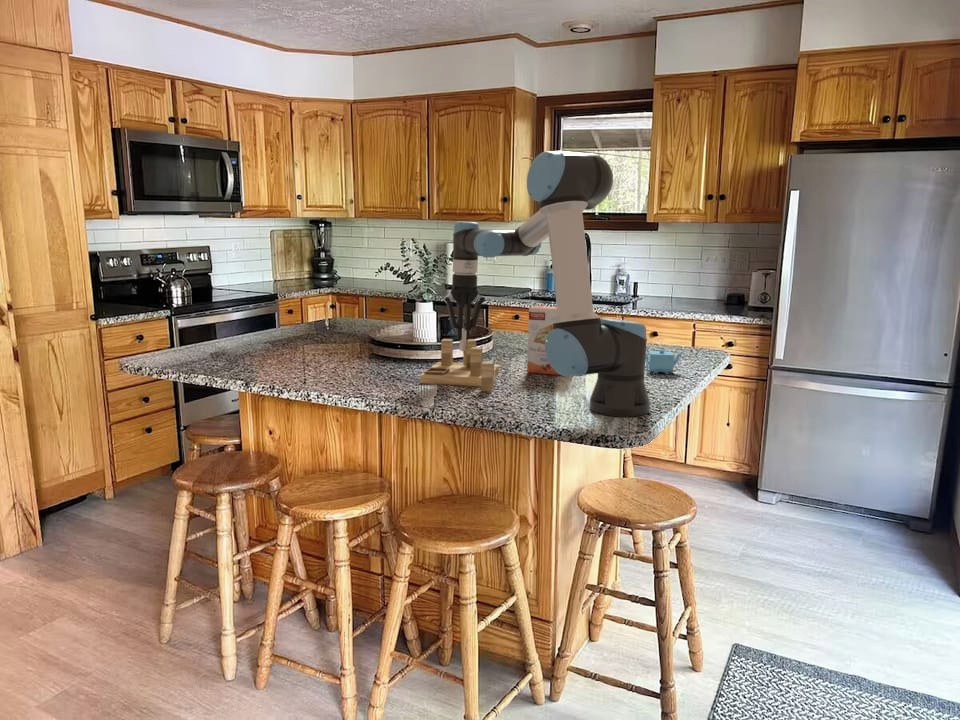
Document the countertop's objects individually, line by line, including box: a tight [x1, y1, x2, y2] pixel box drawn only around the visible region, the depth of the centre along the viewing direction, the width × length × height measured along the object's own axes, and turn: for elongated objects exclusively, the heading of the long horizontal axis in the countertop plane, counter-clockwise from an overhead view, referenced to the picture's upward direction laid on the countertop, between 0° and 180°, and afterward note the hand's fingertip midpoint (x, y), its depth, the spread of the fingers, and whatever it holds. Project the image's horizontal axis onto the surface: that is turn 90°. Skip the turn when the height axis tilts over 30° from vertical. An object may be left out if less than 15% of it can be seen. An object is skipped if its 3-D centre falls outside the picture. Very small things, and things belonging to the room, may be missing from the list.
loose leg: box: [480, 360, 495, 393], centre depth 202 cm, size 3×3×8 cm
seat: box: [419, 338, 500, 387], centre depth 218 cm, size 20×20×10 cm
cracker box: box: [526, 305, 563, 377], centre depth 224 cm, size 14×6×21 cm, turn 68°
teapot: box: [645, 348, 685, 375], centre depth 227 cm, size 12×6×8 cm, turn 80°
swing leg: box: [462, 338, 477, 368], centre depth 218 cm, size 11×3×8 cm, turn 22°
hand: (462, 350), depth 221 cm, fingers closed
